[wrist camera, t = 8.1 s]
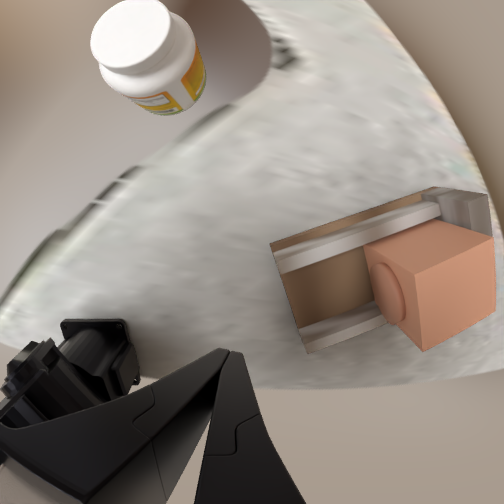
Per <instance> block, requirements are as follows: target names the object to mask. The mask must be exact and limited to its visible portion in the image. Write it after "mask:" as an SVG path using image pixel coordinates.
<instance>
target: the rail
mask: <svg viewBox="0 0 504 504" xmlns="http://www.w3.org/2000/svg"><path fill="white" fill-rule="evenodd" d="M430 219H436V220H440V221H443V222H447V223H450V224H453V225H456V226H460V227H463V228H466V229H469V230H472V231H476V232H479V233H482V234H485V235H488V236H491V237H493V236H492V226H491V217H490V209H489V202H488V195H487V194H482V193H476V192H469V191H462V190H455V189H448V188H441V187H432V188H429V189H426V190H423V191H420V192H417V193H414V194H411V195H409V196H406V197H403V198H400V199H397V200H394V201H391V202H388V203H385V204H382V205H380V206H377V207H374V208H371V209H368V210H365V211H362V212H359V213H356V214H354V215H351V216H348V217H345V218H342V219H339V220H336V221H333V222H330V223H328V224H325V225H322V226H319V227H316V228H313V229H310V230H307V231H305V232H302V233H299V234H296V235H293V236H290V237H287V238H284V239H281V240H279V241H276V242H273V243H270V247H271V249H272V252H273V255H274V258H275V261H276V264H277V267H278V270H279V273H280V276H281V279H282V282H283V285H284V288H285V291H286V294H287V297H288V300H289V303H290V306H291V309H292V312H293V315H294V318H295V321H296V324H297V327H298V330H299V333H300V336H301V339H302V342H303V344H304V347H305V349H306V352H307V354H309V353H312V352H315V351H318V350H320V349H323V348H326V347H329V346H331V345H334V344H337V343H339V342H342V341H344V340H347V339H350V338H352V337H355V336H357V335H360V334H362V333H365V332H367V331H370V330H372V329H374V328H377V327H379V326H381V325H384V324H386V323H388V322H387V320H386V319H385V318H384V316H383V315H382V313H381V311H380V309H379V307H378V305H377V304H376V303H375V298H374V293H373V290H372V286H371V281H370V274H369V270H368V265H367V261H366V257H365V252H364V248H363V245H364V244H367V243H370V242H372V241H375V240H378V239H380V238H383V237H386V236H388V235H391V234H394V233H396V232H399V231H402V230H404V229H407V228H409V227H412V226H415V225H417V224H420V223H422V222H425V221H427V220H430Z"/></svg>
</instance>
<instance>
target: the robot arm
mask: <svg viewBox="0 0 504 504" xmlns="http://www.w3.org/2000/svg"><path fill="white" fill-rule="evenodd" d="M118 324H120V325H121V326H122V327H119V326H118ZM65 325H67V327H66V326H65ZM60 327H61V330H62V333H63V336H64V339H65V340H64V341H63V342H62V343H61V344H60V345H59V346H58V347H56V345H55V342H54V341H53V340H52V339H51V337H50V338H49V339H48V340H47V341H46V342H45V341H44V340H43V341H42V342H41V343H37V342H34V341H31V342H30V343H29V344H28V345H27V346H26V347H25V348H24V349H23V350H22V351H21V352H20V353H19V354H18V355H17V356H16V357H14V359H12V361H10V362H9V364H7V377H6V378H5V379H4V380H5V382H4V384H3V385H2V387H1V388H0V390H1V391H2V392H3V393H4V395H5V396H6V397H5V398H4V399H3V400H2V401H1V402H0V504H166V501H168V499H169V497H170V495H171V493H172V491H173V490H174V488H175V486H176V484H177V482H178V480H179V478H180V476H181V474H182V473H183V471H184V469H185V467H186V465H187V463H188V461H189V459H190V458H191V455H192V454H193V452H194V450H195V448H196V446H197V444H198V442H199V440H200V438H201V436H202V434H203V432H204V430H205V428H206V426H207V425H208V423H209V421H210V425H209V430H208V436H207V440H206V446H205V450H204V455H203V460H202V465H201V470H200V475H199V481H198V485H197V490H196V496H195V501H194V504H306V502H305V501H304V499H303V497H302V495H301V494H300V492H299V490H298V488H297V487H296V485H295V483H294V481H293V480H292V478H291V476H290V475H289V473H288V471H287V469H286V467H285V465H284V464H283V462H282V460H281V458H280V456H279V455H278V453H277V451H276V449H275V447H274V445H273V443H272V441H271V439H270V437H269V435H268V432H267V430H266V427H265V424H264V421H263V419H262V415H261V413H260V409H259V406H258V403H257V400H256V397H255V393H254V390H253V387H252V383H251V380H250V377H249V373H248V370H247V367H246V363H245V360H244V356H243V354H242V353H240V352H235V351H231V352H230V351H229V350H227V349H222V348H217V349H216V350H214V351H212V352H210V353H208V354H206V355H205V356H203V357H201V358H199V359H197V360H196V361H194V362H192V363H190V364H188V365H186V366H184V367H183V368H181V369H179V370H177V371H175V372H173V373H171V374H169V375H167V376H165V377H164V378H162V379H160V380H158V381H156V382H154V383H152V384H151V385H147V386H145V387H143V388H141V389H139V390H137V391H135V392H133V393H131V394H128V393H129V390H130V388H131V386H132V385H138V384H139V383H140V380H141V379H140V375H139V372H138V371H139V365H138V361H137V357H136V354H135V350H134V346H133V344H132V343H131V342H130V339H129V335H128V331H127V327H126V324H125V322H124V321H123V320H121V319H98V320H63V321H62V322H61V324H60ZM134 379H136V380H137V381H135V380H134ZM210 419H211V420H210Z"/></svg>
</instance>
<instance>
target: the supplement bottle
mask: <svg viewBox="0 0 504 504" xmlns="http://www.w3.org/2000/svg"><path fill="white" fill-rule="evenodd" d="M91 50H92V53H93V55H94V57H95V58H96V60H97V61H98V62H99V68H100V72H101V74H102V76H103V78H104V80H105V81H106V83H107V84H108V85H109V86H110V87H112V88H113V89H114V90H115V91H117V92H119V93H120V94H122V95H123V96H125V97H126V98H128V99H130V100H131V101H133V102H134V103H136V104H137V105H139V106H140V107H142V108H144V109H145V110H147V111H149V112H151V113H154V114H157V115H164V116H167V115H174V114H178V113H180V112H183V111H185V110H187V109H188V108H190V107H191V106H192V105H193V104H194V103H195V102H196V101H197V100H198V99H199V98H200V96H201V94H202V92H203V90H204V87H205V83H206V72H205V67H204V64H203V61H202V58H201V55H200V52H199V49H198V46H197V43H196V40H195V37H194V35H193V32H192V30H191V28H190V27H189V25H188V24H187V23H186V21H185V20H183V19H182V18H181V17H180V16H178V15H176V14H174V13H172V12H169V11H168V9H167V8H166V6H165V5H163V4H162V3H161V2H159V1H158V0H125V1H122V2H120V3H118V4H116V5H115V6H113V7H112V8H110V9H109V10H108V11H107V12H105V13H104V15H103V16H102V17H101V18H100V19H99V20H98V22H97V23H96V25H95V27H94V29H93V32H92V35H91Z"/></svg>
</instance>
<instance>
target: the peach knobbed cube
mask: <svg viewBox="0 0 504 504" xmlns="http://www.w3.org/2000/svg"><path fill="white" fill-rule="evenodd" d="M363 248H364V252H365V257H366V261H367V265H368V270H369V274H370V281H371V286H372V290H373V293H374V298H375V303H376V304H377V305H378V307H379V309H380V311H381V313H382V315H383V316H384V318H385V319H386V320H387V322H388V323H390V324H391V325H395V324H396V325H397V326H398V327H399V328H400V329H401V330H402V331H403V332H404V333H405V334H406V335H407V336H408V337H409V338H410V339H411V340H412V341H413V342H414V343H415V344H416V345H417V347H418V348H419V349H420V350H421V351H422V352H424V351H426V350H428V349H430V348H432V347H434V346H435V345H437V344H439V343H441V342H443V341H445V340H447V339H449V338H451V337H452V336H454V335H456V334H458V333H460V332H461V331H463V330H465V329H467V328H468V327H470V326H472V325H474V324H475V323H477V322H479V321H480V320H482V319H484V318H485V317H487V316H488V315H490V314H492V313H493V312H495V311H496V273H495V252H494V239H493V237H491V236H488V235H485V234H482V233H479V232H476V231H472V230H469V229H466V228H463V227H460V226H456V225H453V224H450V223H447V222H443V221H440V220H436V219H430V220H427V221H425V222H422V223H420V224H417V225H415V226H412V227H409V228H407V229H404V230H402V231H399V232H396V233H394V234H391V235H388V236H386V237H383V238H380V239H378V240H375V241H372V242H370V243H367V244H364V245H363Z"/></svg>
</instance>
